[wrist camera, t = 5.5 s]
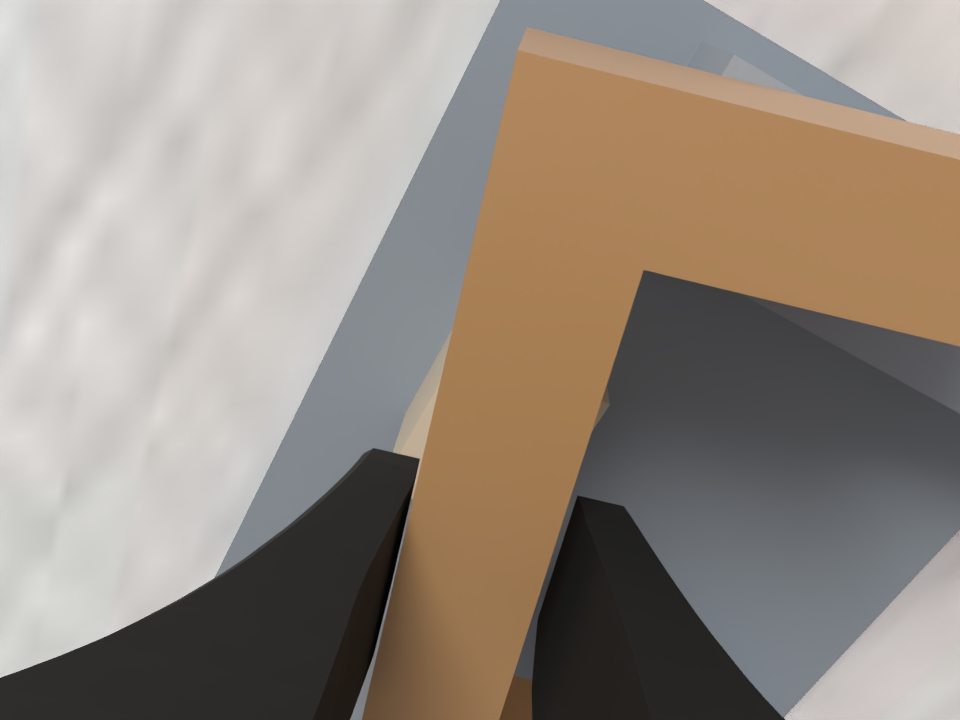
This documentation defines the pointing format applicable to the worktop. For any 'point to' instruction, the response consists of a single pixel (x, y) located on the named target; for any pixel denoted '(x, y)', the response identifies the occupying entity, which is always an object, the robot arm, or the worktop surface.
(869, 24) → the worktop surface
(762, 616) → the display stand
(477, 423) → the tan c-shaped bracket
